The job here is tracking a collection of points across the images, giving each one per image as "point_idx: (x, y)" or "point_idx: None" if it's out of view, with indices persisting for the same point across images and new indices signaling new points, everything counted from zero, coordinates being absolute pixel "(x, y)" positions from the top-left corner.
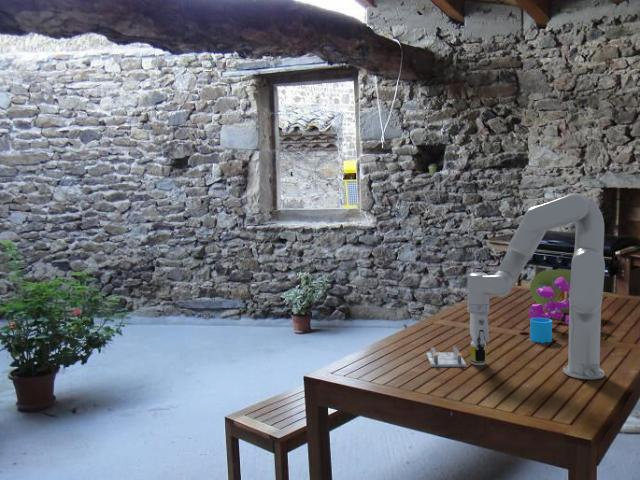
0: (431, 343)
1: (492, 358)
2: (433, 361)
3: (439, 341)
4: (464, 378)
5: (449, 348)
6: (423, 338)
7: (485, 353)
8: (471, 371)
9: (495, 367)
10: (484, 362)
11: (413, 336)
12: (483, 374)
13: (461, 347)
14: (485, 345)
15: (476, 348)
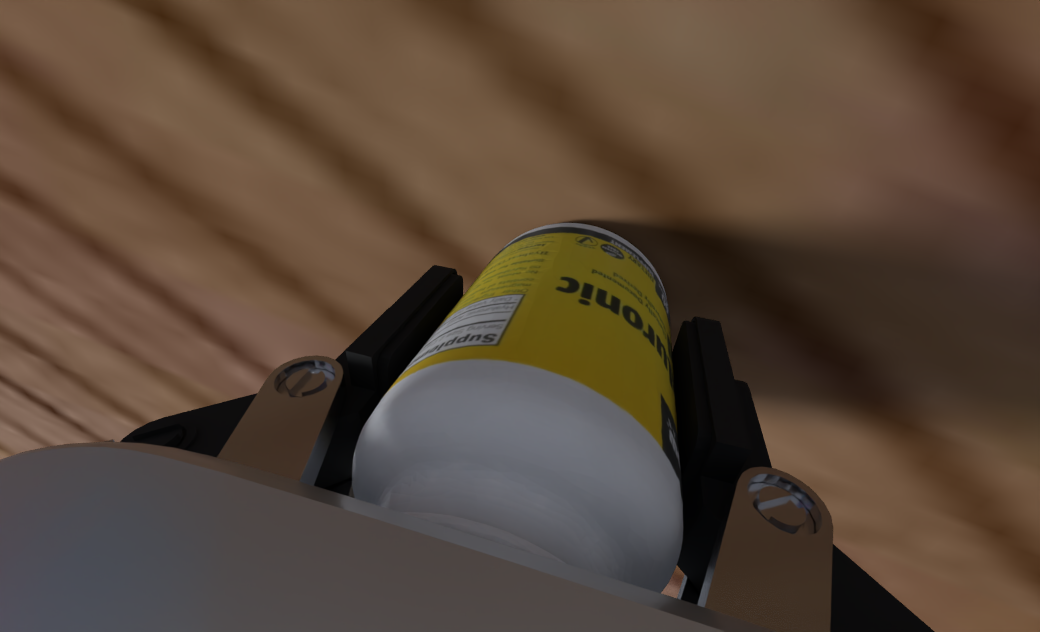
0: (88, 410)
1: (384, 34)
2: None
3: (15, 349)
4: (1015, 603)
5: (151, 355)
6: (10, 408)
7: (639, 326)
8: (835, 474)
9: (827, 153)
10: (657, 278)
11: (5, 436)
12: (1032, 424)
13: (80, 255)
14: (640, 450)
15: (691, 581)
